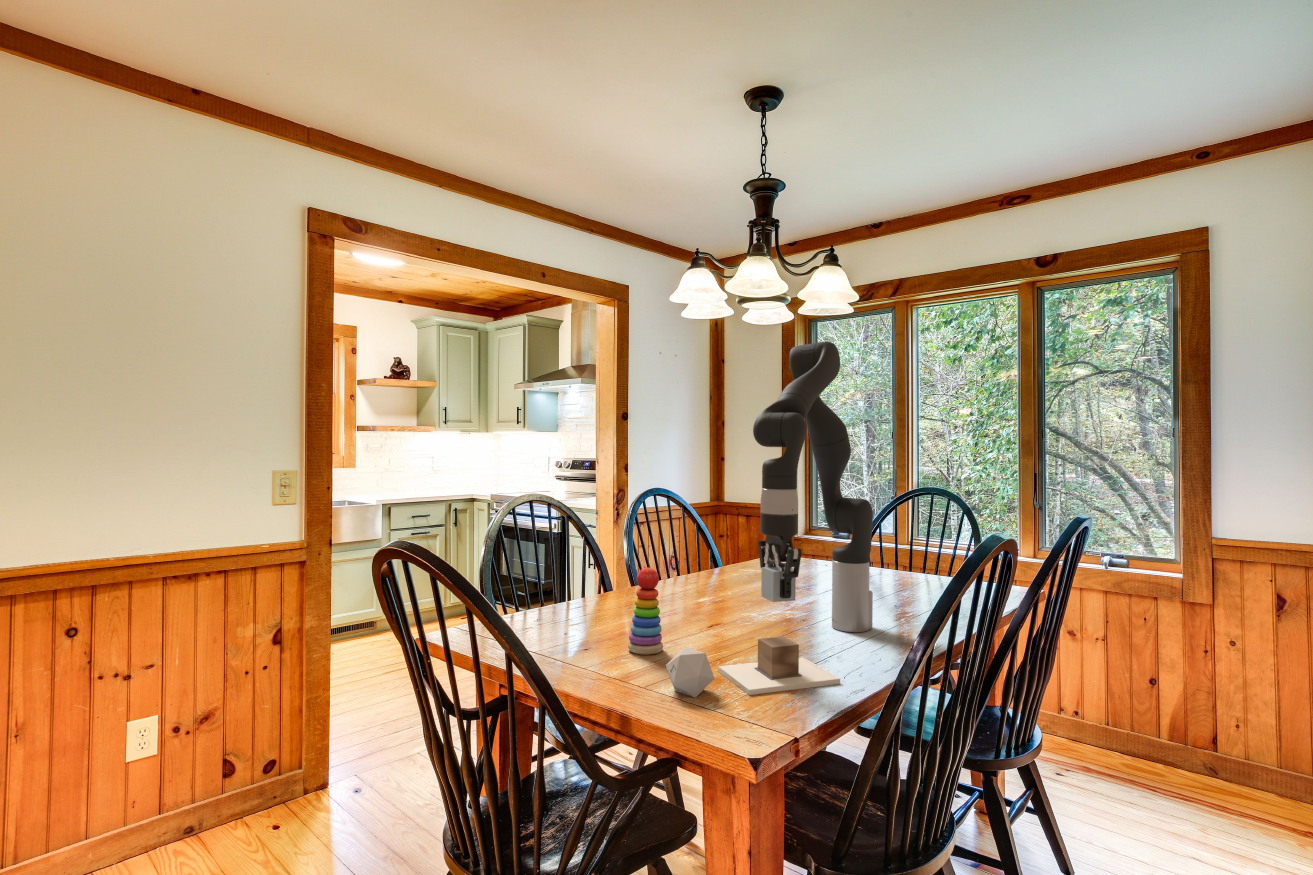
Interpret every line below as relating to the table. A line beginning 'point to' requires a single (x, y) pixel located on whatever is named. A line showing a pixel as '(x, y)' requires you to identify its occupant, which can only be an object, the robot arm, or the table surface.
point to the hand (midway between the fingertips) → (778, 594)
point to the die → (690, 672)
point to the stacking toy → (646, 616)
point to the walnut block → (778, 657)
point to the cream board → (777, 678)
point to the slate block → (774, 585)
